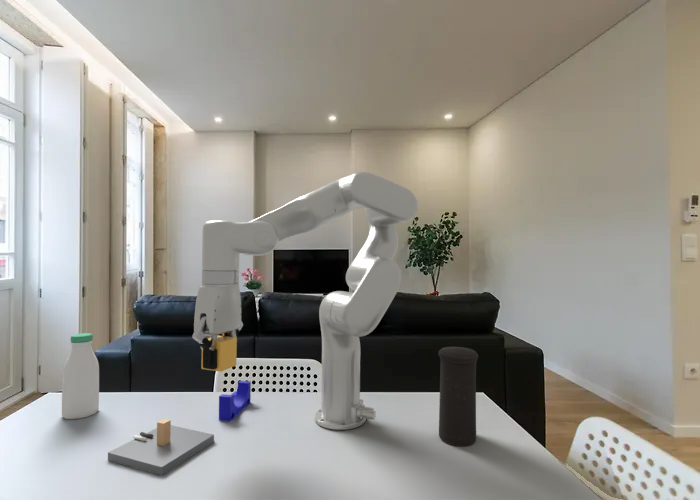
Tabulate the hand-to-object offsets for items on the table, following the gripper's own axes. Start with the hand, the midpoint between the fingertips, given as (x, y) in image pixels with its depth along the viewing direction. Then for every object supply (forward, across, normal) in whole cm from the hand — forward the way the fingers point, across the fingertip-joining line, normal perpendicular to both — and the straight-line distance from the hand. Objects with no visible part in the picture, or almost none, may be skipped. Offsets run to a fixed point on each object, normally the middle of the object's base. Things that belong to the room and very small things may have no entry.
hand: (219, 364), depth 83 cm
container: (+17, -23, +47) cm, 55 cm away
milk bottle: (+18, -1, -43) cm, 47 cm away
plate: (+18, +5, -9) cm, 21 cm away
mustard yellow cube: (+1, 0, 0) cm, 1 cm away
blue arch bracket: (+18, -17, -9) cm, 26 cm away
